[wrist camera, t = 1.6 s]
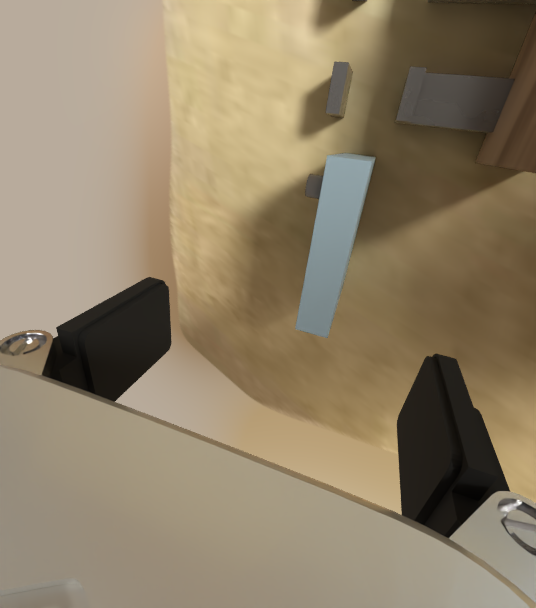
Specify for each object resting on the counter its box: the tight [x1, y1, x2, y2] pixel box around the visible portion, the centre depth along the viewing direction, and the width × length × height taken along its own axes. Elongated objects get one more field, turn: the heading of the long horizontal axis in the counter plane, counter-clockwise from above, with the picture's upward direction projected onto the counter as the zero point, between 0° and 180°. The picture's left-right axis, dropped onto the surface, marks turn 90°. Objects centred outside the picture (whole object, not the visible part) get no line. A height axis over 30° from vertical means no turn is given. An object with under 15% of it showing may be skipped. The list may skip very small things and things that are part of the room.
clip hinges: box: [326, 0, 536, 133], centre depth 20 cm, size 12×10×3 cm
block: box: [295, 153, 376, 338], centre depth 24 cm, size 4×12×10 cm, turn 174°
